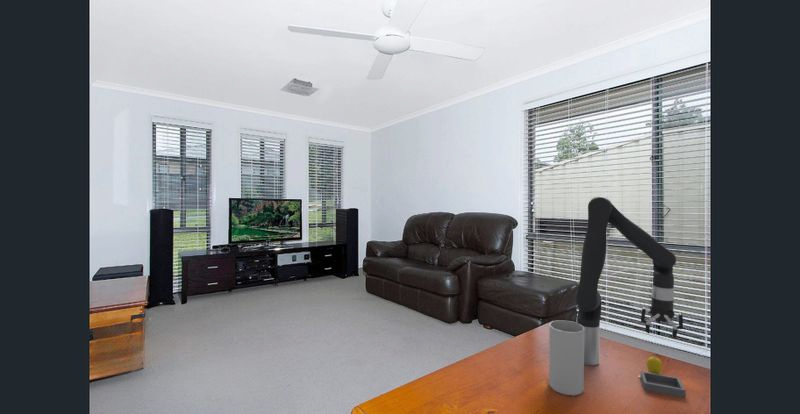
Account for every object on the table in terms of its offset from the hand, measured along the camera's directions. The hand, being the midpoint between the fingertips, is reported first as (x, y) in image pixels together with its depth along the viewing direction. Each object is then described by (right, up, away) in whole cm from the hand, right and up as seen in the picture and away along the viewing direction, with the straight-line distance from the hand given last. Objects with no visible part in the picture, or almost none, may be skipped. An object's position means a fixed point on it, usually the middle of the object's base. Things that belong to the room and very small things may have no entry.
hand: (660, 335), depth 155 cm
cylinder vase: (-43, -19, -7) cm, 47 cm away
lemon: (-2, -17, +1) cm, 18 cm away
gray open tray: (-5, -18, -8) cm, 20 cm away
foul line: (-3, -18, -3) cm, 18 cm away
